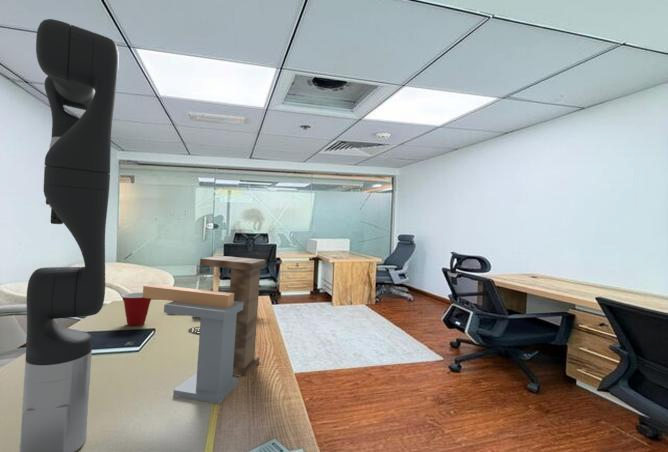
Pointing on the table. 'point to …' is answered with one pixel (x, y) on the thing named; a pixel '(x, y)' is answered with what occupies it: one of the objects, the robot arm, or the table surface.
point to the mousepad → (194, 330)
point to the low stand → (210, 351)
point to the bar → (188, 295)
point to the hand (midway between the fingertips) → (65, 223)
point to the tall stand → (246, 291)
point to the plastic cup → (136, 308)
